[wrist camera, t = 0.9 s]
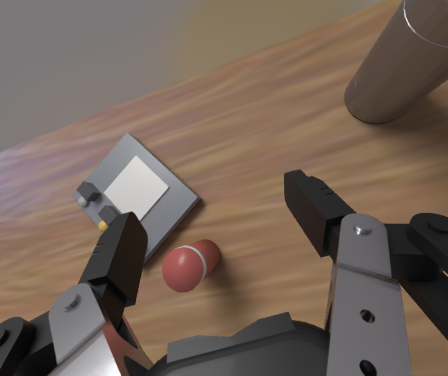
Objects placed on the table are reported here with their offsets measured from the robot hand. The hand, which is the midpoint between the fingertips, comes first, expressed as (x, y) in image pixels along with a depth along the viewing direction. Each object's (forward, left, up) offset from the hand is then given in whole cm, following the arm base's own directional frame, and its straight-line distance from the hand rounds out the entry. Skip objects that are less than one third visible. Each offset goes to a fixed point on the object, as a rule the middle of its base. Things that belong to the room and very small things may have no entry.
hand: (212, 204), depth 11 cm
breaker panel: (+11, -17, -23) cm, 31 cm away
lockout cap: (+9, -1, -23) cm, 25 cm away
